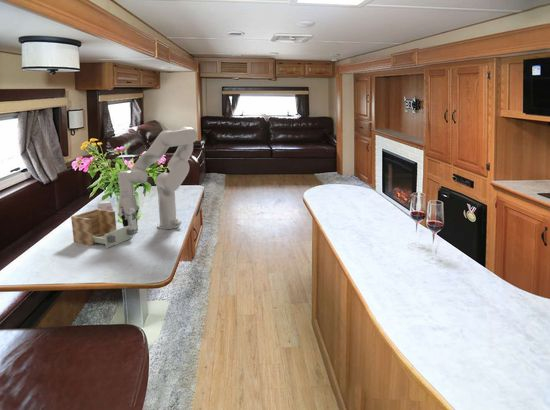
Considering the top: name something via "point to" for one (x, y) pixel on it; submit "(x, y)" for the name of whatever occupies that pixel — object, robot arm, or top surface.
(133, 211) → the syrup box
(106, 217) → the bay
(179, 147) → the robot arm
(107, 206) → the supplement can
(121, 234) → the tray
